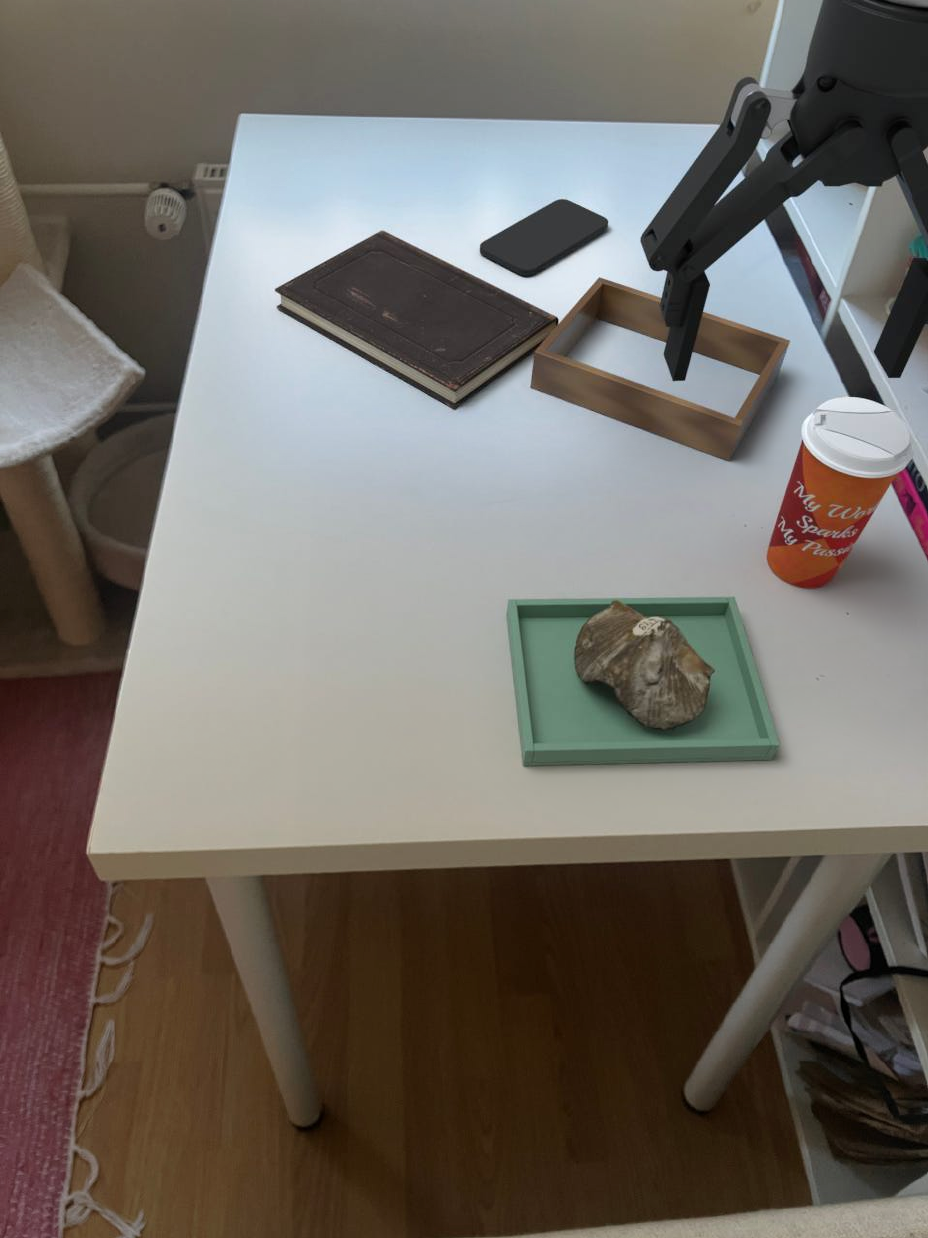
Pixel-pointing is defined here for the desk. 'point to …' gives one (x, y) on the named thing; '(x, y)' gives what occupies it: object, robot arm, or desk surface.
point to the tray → (592, 716)
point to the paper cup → (835, 487)
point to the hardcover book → (417, 316)
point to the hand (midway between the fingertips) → (781, 366)
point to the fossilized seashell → (643, 666)
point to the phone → (543, 237)
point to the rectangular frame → (644, 402)
